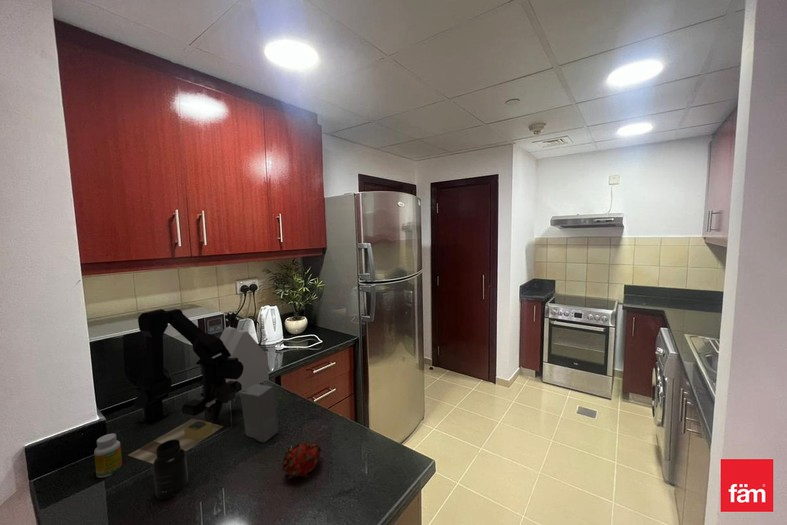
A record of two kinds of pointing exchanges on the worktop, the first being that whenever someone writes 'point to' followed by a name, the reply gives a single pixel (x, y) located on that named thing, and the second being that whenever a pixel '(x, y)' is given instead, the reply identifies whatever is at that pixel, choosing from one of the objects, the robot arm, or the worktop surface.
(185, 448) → the plywood board
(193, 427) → the stud finder
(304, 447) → the dragon fruit
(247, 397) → the skincare box
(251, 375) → the milk carton
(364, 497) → the worktop surface
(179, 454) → the supplement bottle
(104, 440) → the supplement bottle
